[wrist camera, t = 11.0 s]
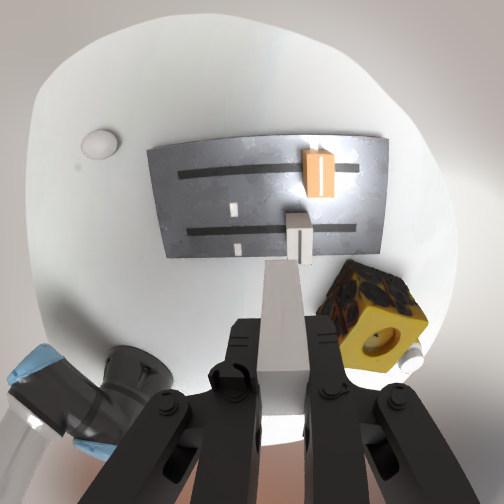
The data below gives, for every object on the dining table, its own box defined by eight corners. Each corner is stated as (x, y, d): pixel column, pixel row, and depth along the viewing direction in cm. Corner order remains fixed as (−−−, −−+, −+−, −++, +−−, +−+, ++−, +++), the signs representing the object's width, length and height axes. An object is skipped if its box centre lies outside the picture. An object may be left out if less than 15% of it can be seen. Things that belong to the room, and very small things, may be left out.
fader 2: (303, 186, 28) (307, 198, 24) (302, 149, 26) (306, 154, 22) (326, 186, 28) (334, 197, 24) (326, 149, 26) (334, 154, 22)
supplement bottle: (392, 315, 38) (409, 353, 30) (414, 318, 38) (432, 354, 30) (379, 336, 40) (392, 375, 32) (401, 338, 40) (415, 375, 32)
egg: (124, 157, 30) (108, 163, 27) (90, 156, 30) (72, 162, 27) (126, 128, 28) (109, 131, 25) (90, 129, 29) (73, 132, 25)
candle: (314, 313, 39) (321, 365, 30) (346, 256, 34) (365, 303, 25) (370, 328, 39) (385, 376, 30) (403, 277, 35) (431, 323, 26)
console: (172, 251, 36) (166, 258, 34) (153, 148, 29) (146, 150, 28) (374, 246, 33) (379, 254, 31) (382, 137, 26) (389, 139, 25)
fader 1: (286, 245, 31) (287, 266, 27) (285, 213, 30) (286, 229, 25) (307, 245, 31) (311, 265, 27) (308, 212, 29) (313, 228, 25)
